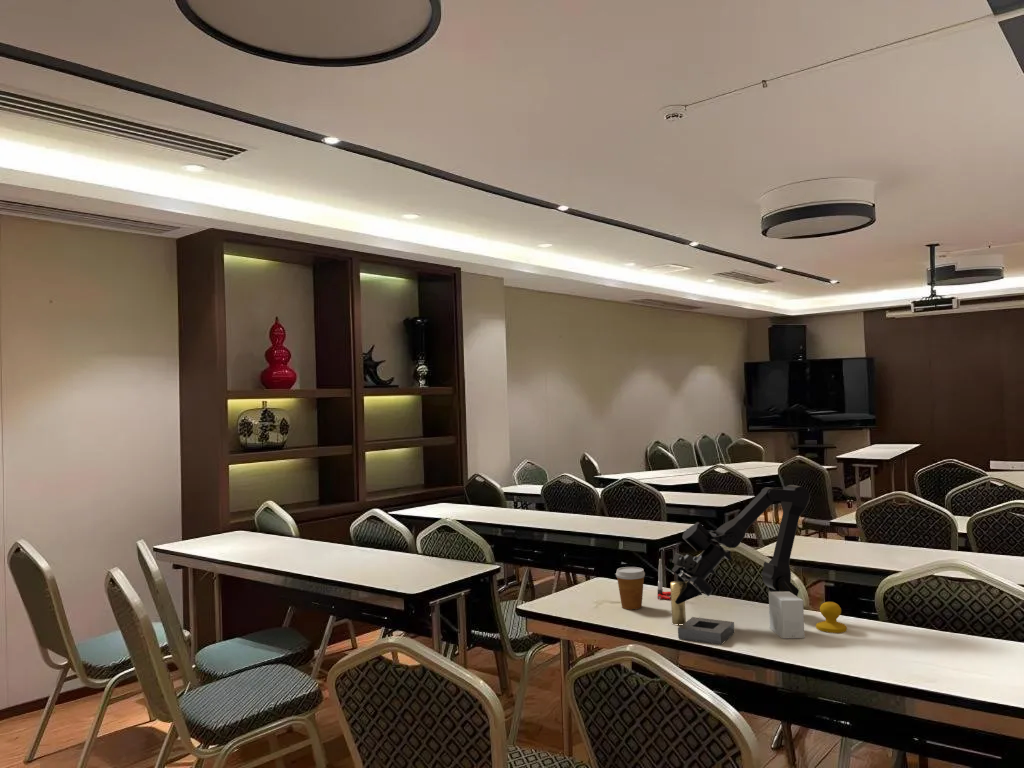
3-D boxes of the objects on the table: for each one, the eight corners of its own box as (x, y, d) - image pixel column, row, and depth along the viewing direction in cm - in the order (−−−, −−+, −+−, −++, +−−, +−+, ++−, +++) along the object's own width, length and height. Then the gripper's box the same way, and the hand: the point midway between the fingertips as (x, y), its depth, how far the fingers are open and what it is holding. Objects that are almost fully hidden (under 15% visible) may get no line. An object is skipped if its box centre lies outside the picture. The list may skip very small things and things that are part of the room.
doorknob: (819, 623, 219) (849, 627, 215) (813, 631, 213) (844, 634, 208) (818, 597, 219) (847, 600, 215) (812, 604, 213) (842, 607, 208)
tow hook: (686, 595, 258) (658, 594, 260) (686, 557, 258) (658, 556, 260) (685, 602, 250) (656, 600, 252) (685, 563, 250) (657, 561, 252)
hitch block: (734, 632, 214) (733, 621, 214) (721, 644, 203) (720, 633, 204) (693, 627, 220) (692, 616, 220) (678, 638, 210) (677, 627, 210)
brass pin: (687, 622, 225) (686, 581, 225) (683, 626, 222) (681, 584, 222) (675, 620, 227) (673, 580, 228) (670, 624, 224) (668, 583, 224)
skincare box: (806, 638, 206) (804, 599, 207) (782, 639, 206) (780, 600, 207) (791, 627, 217) (789, 590, 217) (769, 628, 217) (767, 591, 217)
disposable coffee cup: (611, 606, 247) (609, 569, 247) (635, 601, 251) (634, 565, 251) (627, 612, 238) (625, 574, 239) (652, 608, 242) (651, 570, 243)
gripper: (676, 538, 235) (644, 576, 233) (700, 549, 217) (665, 590, 215) (702, 562, 236) (669, 600, 234) (727, 574, 217) (692, 616, 215)
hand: (673, 601), depth 224 cm, fingers closed on brass pin, 4 cm apart
